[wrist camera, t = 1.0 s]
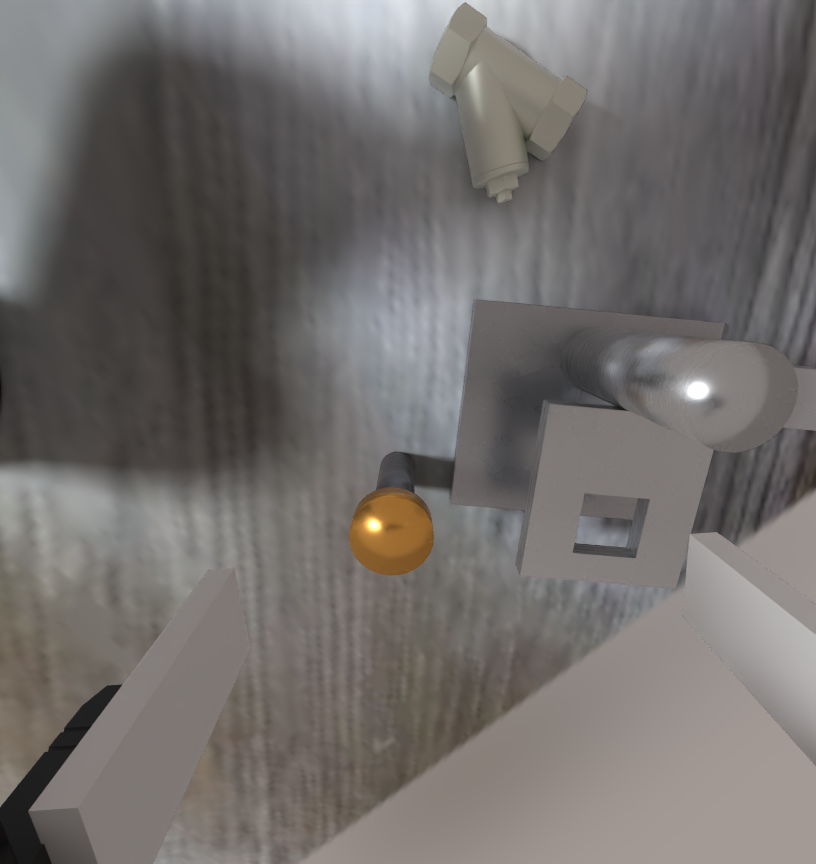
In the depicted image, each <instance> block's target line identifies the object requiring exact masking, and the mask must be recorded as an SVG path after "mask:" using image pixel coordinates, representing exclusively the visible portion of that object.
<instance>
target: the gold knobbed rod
mask: <svg viewBox="0 0 816 864" xmlns="http://www.w3.org/2000/svg"><path fill="white" fill-rule="evenodd" d="M349 540H350V546H351V549H352V551H353V553H354V555H355V557H356V558H357V559H358V560H359V562H360V563H361V564H363V565H364V566H365V567H366V568H368V569H370V570H372V571H374V572H376V573H380V574H384V575H400V574H404V573H407V572H410V571H412V570H414V569H416V568H417V567H419V566H420V565H421V564H422V563H423V562H424V561H425V560H426V559H427V557H428V556H429V554H430V552H431V549H432V546H433V540H434V535H433V525H432V517H431V513H430V511H429V508H428V507H427V505H426V504H425V502H424V501H423V500H422V499H421V498H420V497H419V496H417V495H416V494H415V493H414V464H413V461H412V460H411V458H410V457H409V456H408V455H406V454H405V453H402V452H392V453H390V454H388V455H386V456H385V457H384V458H383V460H382V462H381V466H380V471H379V476H378V482H377V487H376V491H373V492H372V493H370V494H368V495H367V496H366V497H365V498H364V499H362V501H361V502H360V503H359V505H358V506H357V508H356V510H355V513H354V516H353V520H352V524H351V527H350V533H349Z"/></svg>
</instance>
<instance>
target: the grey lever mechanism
mask: <svg viewBox="0 0 816 864" xmlns="http://www.w3.org/2000/svg"><path fill="white" fill-rule="evenodd" d="M724 326H725V323H718V322H707V321H697V320H686V319H676V318H665V317H655V316H644V315H634V314H623V313H613V312H602V311H592V310H581V309H571V308H560V307H550V306H539V305H529V304H518V303H508V302H497V301H487V300H474V303H473V311H472V320H471V328H470V336H469V344H468V352H467V360H466V368H465V376H464V385H463V393H462V401H461V409H460V417H459V425H458V433H457V441H456V449H455V458H454V466H453V474H452V482H451V490H450V498H449V499H450V504H455V505H467V506H479V507H490V508H502V509H513V510H525V511H524V517H523V523H522V529H521V535H520V540H519V546H518V552H517V558H516V564H515V565H516V567H517V569H518V572H519V574H520V576H529V577H541V578H553V579H565V580H577V581H589V582H601V583H613V584H624V585H636V586H648V587H660V588H672V589H676V586H677V583H678V579H679V575H680V572H681V568H682V564H683V561H684V557H685V553H686V550H687V546H688V542H689V536H690V534H691V531H692V528H693V524H694V520H695V517H696V513H697V509H698V506H699V502H700V499H701V495H702V491H703V488H704V484H705V480H706V477H707V473H708V469H709V466H710V462H711V458H712V455H713V451H714V450H716V451H719V452H725V453H736V452H743V451H747V450H750V449H753V448H756V447H758V446H760V445H762V444H764V443H765V442H767V441H769V440H770V439H771V438H772V437H774V436H775V435H776V434H777V433H778V432H779V431H780V430H781V429H782V428H792V429H803V430H814V431H816V367H809V366H798V365H792V363H791V362H790V361H789V359H788V358H787V357H786V356H785V355H784V354H783V353H781V352H780V351H779V350H777V349H775V348H773V347H771V346H768V345H765V344H760V343H752V342H742V341H731V340H721V338H722V334H723V330H724ZM580 515H582V516H594V517H605V518H617V519H628V520H633V521H632V525H631V529H630V533H629V538H628V542H627V546H626V548H623V547H612V546H600V545H588V544H577V543H575V538H576V533H577V528H578V523H579V518H580Z"/></svg>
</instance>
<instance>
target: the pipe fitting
mask: <svg viewBox="0 0 816 864" xmlns="http://www.w3.org/2000/svg"><path fill="white" fill-rule="evenodd" d="M429 81H430V84H431V86H433V87H434V88H436V89H437V90H439V91H440V92H442V93H443V94H445V95H446V96H448V97H449V98H451V97H452V96H454V95H455V96H456V101H457V106H458V112H459V117H460V122H461V127H462V132H463V138H464V143H465V148H466V153H467V158H468V163H469V168H470V174H471V179H472V184H473V187H474V188H484V187H486V189H487V194H488V197H494V196H496V200H497V204H500V203H504V202H507V201H510V200H512V192H511V191H513V190H516V189H517V188H518V186H519V184H518V178H517V177H519V176H521V175H523V174H525V173H526V172H528V171H529V163H528V157H527V151H528V152H529V153H530V154H532V155H533V156H535V157H536V158H538V159H539V160H541V161H543V160H546V159H547V158H548V157H549V156H550V155H551V153H552V152H553V151H554V149H555V148H556V146H557V145H558V144H559V142H560V141H561V139H562V138H563V136H564V135H565V133H566V131H567V130H568V128H569V127H570V125H571V124H572V122H573V120H574V119H575V117H576V115H577V114H578V112H579V110H580V108H581V107H582V105H583V103H584V101H585V99H586V94H587V90H586V89H585V88H583V87H582V86H581V85H579V84H578V83H577V82H575V81H574V80H572V79H571V78H570V77H568V76H566V77H564V78H563V79H561V80H560V79H559V78H558V77H556V76H555V75H554V74H552V73H551V72H549V71H548V70H547V69H545V68H544V67H542V66H541V65H540V64H538V63H537V62H535V61H534V60H533V59H531V58H530V57H528V56H527V55H526V54H524V53H523V52H521V51H520V50H519V49H517V48H516V47H514V46H513V45H512V44H510V43H509V42H508V41H506V40H505V39H503V38H502V37H501V36H499V35H498V34H496V33H495V32H494V31H492V30H491V29H490V28H488V27H487V18H486V17H485V16H484V15H482V14H481V13H480V12H478V11H477V10H475V9H474V8H473V7H471V6H470V5H468V4H467V3H466V2H465V3H464V4H462V5H461V6H460V7H459V8H458V9H457V10H456V11H455V13H454V14H453V16H452V18H451V19H450V21H449V23H448V25H447V27H446V29H445V31H444V33H443V35H442V37H441V40H440V42H439V44H438V47H437V49H436V52H435V54H434V57H433V60H432V63H431V66H430V70H429Z"/></svg>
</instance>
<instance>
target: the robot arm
mask: <svg viewBox="0 0 816 864" xmlns="http://www.w3.org/2000/svg"><path fill="white" fill-rule="evenodd" d="M0 396H1V388H0ZM682 616H683V618H684V619H685V620H686V621H687V622H688V623H689V625H690V626H691V627H692V628H693V629H694V630H695V631H696V633H697V634H698V635H699V636H700V637H701V638H702V639H703V640H704V642H705V643H706V644H707V645H708V646H709V647H710V648H711V649H712V650H713V652H715V654H716V655H717V656H718V657H719V658H720V659H721V661H722V662H723V663H724V664H725V665H726V666H727V667H728V668H729V670H730V671H731V672H732V673H733V674H734V675H735V676H736V677H737V678H738V680H739V681H740V682H741V683H742V684H743V685H744V686H745V687H746V689H747V690H748V691H749V692H750V693H751V694H752V695H753V696H754V697H755V699H756V700H757V701H758V702H759V703H760V704H761V705H762V706H763V708H764V709H765V710H766V711H767V712H768V713H769V714H770V715H771V716H772V718H773V719H774V720H775V721H776V722H777V723H778V724H779V725H780V726H781V728H782V729H783V730H784V731H785V732H786V733H787V734H788V735H789V737H790V738H791V739H792V740H793V741H794V742H795V743H796V745H797V746H798V747H799V748H800V749H801V750H802V751H803V752H804V753H805V755H806V756H807V757H808V758H809V759H810V760H811V761H812V762H813V764H814V765H815V766H816V604H815V603H814V602H813V601H811V600H810V599H808V598H807V597H806V596H804V595H803V594H801V593H800V592H799V591H797V590H796V589H794V588H793V587H792V586H790V585H789V584H788V583H786V582H785V581H784V580H782V579H781V578H779V577H778V576H776V575H775V574H774V573H772V572H771V571H770V570H768V569H767V568H766V567H764V566H762V565H761V564H760V563H759V562H757V561H756V560H755V559H753V558H752V557H750V556H749V555H748V554H746V553H745V552H743V551H742V550H741V549H739V548H738V547H737V546H735V545H734V544H732V543H731V542H730V541H728V540H727V539H726V538H724V537H723V536H721V535H720V534H719V533H717V532H711V533H697V534H690V536H689V547H688V559H687V570H686V581H685V593H684V605H683V615H682ZM249 650H250V643H249V638H248V633H247V628H246V623H245V618H244V613H243V608H242V603H241V598H240V593H239V588H238V583H237V578H236V573H235V568H229V569H216V570H208V571H207V572H206V574H205V575H204V576H203V578H202V579H201V580H200V582H199V583H198V584H197V586H196V587H195V589H194V590H193V591H192V593H191V594H190V595H189V597H188V598H187V599H186V601H185V602H184V603H183V605H182V606H181V607H180V609H179V610H178V611H177V613H176V614H175V615H174V617H173V618H172V619H171V621H170V622H169V623H168V625H167V626H166V627H165V629H164V630H163V631H162V633H161V634H160V635H159V637H158V638H157V639H156V641H155V642H154V643H153V645H152V646H151V647H150V649H149V650H148V651H147V653H146V654H145V655H144V657H143V658H142V659H141V661H140V662H139V663H138V665H137V666H136V668H135V669H134V670H133V672H132V673H131V674H130V676H129V677H128V678H127V680H126V681H125V682H124V684H123V685H110V686H106V687H105V688H104V689H102V690H101V691H100V692H99V693H97V694H96V695H95V696H94V697H92V698H91V699H90V700H89V701H87V702H86V703H85V704H84V705H83V706H82V707H81V708H80V709H79V710H78V712H77V713H76V714H75V715H74V717H73V718H72V719H71V720H70V722H69V723H68V724H67V725H66V727H65V728H64V732H62V733H60V734H59V735H58V736H57V738H56V739H55V740H54V741H53V743H52V744H51V745H50V746H49V750H48V752H45V753H44V754H43V755H42V756H41V757H40V759H39V760H38V761H37V762H36V764H35V765H34V766H33V767H32V769H31V770H30V771H29V772H28V774H27V775H26V776H25V777H24V779H23V780H22V781H21V782H20V783H19V785H18V786H17V787H16V788H15V790H14V791H13V792H12V793H11V795H10V796H9V797H8V798H7V800H6V801H5V802H4V803H3V804H2V806H1V807H0V864H153V862H154V860H155V858H156V855H157V853H158V851H159V849H160V847H161V844H162V842H163V840H164V838H165V836H166V833H167V831H168V829H169V827H170V825H171V822H172V820H173V818H174V816H175V813H176V811H177V809H178V807H179V805H180V802H181V800H182V798H183V796H184V794H185V791H186V789H187V787H188V785H189V783H190V780H191V778H192V776H193V774H194V772H195V769H196V767H197V765H198V763H199V760H200V758H201V756H202V754H203V752H204V749H205V747H206V745H207V743H208V741H209V738H210V736H211V734H212V732H213V730H214V727H215V725H216V723H217V721H218V719H219V716H220V714H221V712H222V710H223V708H224V705H225V703H226V701H227V699H228V696H229V694H230V692H231V690H232V688H233V685H234V683H235V681H236V679H237V677H238V674H239V672H240V670H241V668H242V666H243V663H244V661H245V659H246V657H247V655H248V652H249Z"/></svg>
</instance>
